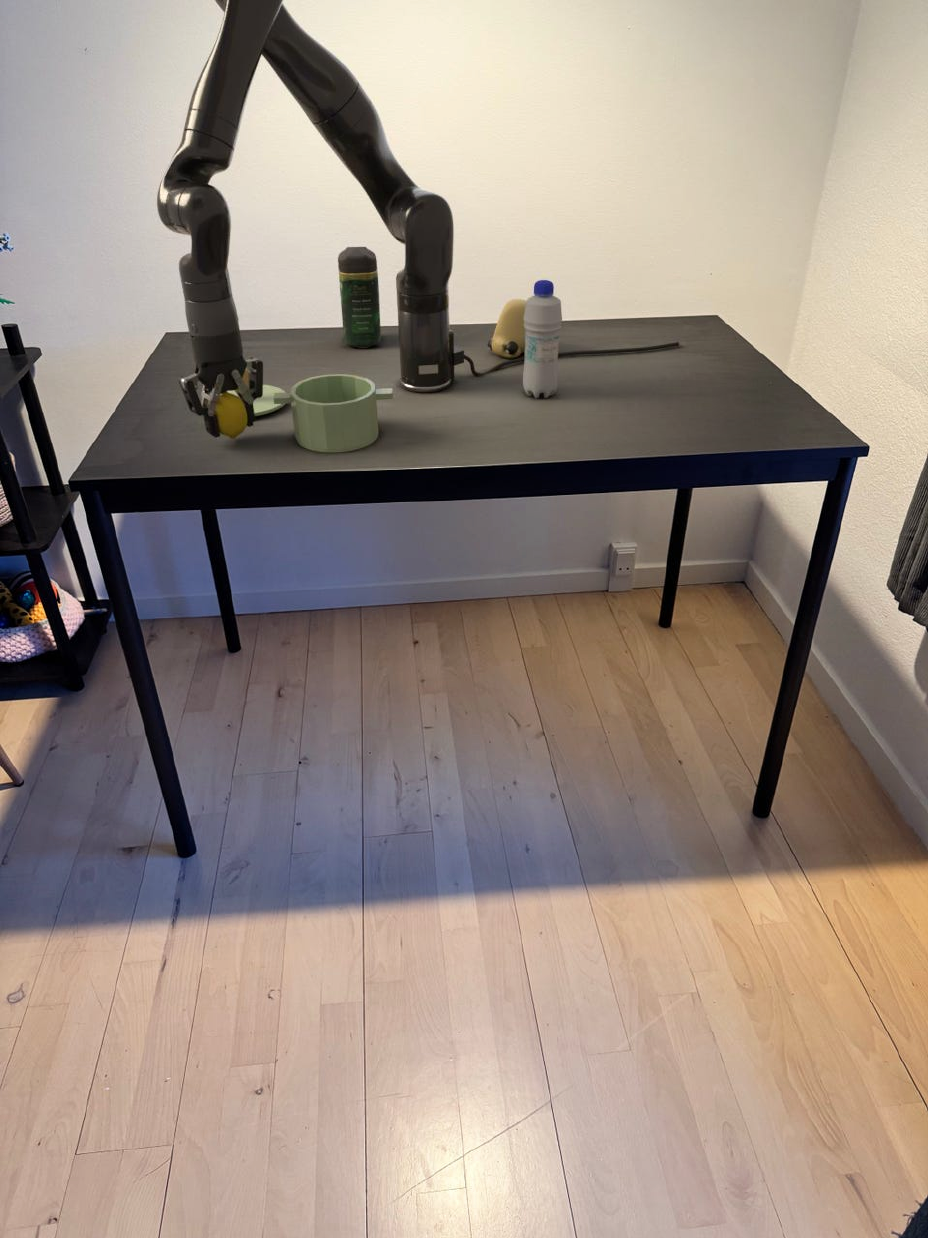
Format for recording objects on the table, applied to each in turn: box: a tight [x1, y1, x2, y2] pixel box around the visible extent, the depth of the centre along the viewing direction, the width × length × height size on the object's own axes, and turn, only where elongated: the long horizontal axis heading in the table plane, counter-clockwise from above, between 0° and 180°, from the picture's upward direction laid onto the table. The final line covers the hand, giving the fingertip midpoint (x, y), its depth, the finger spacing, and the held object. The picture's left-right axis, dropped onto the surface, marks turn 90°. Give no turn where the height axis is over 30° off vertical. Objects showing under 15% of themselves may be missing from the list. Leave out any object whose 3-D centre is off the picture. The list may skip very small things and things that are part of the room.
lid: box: [220, 368, 286, 417], centre depth 157 cm, size 15×15×7 cm
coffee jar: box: [337, 246, 382, 349], centre depth 182 cm, size 10×8×19 cm
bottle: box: [522, 279, 563, 399], centre depth 156 cm, size 7×7×20 cm
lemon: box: [215, 392, 248, 440], centre depth 143 cm, size 6×6×8 cm
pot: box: [274, 373, 394, 454], centre depth 145 cm, size 14×19×8 cm
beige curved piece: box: [487, 298, 527, 359], centre depth 178 cm, size 10×12×11 cm
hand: (231, 429), depth 145 cm, fingers closed on lemon, 5 cm apart
